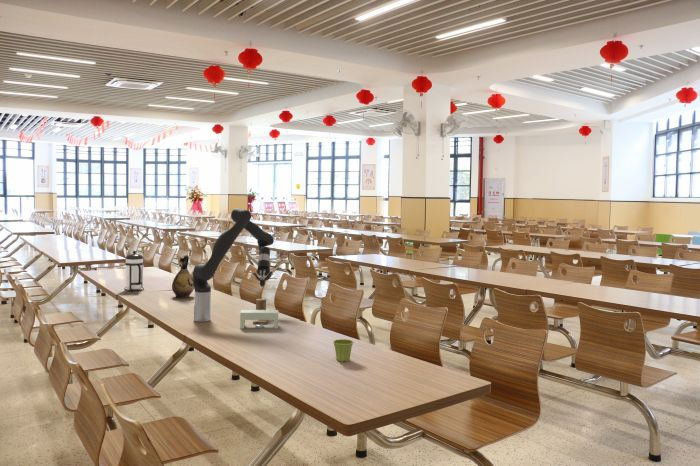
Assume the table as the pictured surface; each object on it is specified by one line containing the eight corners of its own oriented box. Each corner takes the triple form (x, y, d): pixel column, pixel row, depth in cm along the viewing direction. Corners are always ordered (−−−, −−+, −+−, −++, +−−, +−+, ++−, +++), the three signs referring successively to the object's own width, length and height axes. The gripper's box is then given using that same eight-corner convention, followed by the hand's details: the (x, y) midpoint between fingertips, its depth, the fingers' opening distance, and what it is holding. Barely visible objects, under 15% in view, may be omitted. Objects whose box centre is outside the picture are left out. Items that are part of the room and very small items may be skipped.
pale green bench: (240, 328, 320) (240, 312, 319) (241, 325, 328) (241, 309, 327) (277, 328, 322) (278, 312, 321) (278, 325, 330) (278, 310, 329)
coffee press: (118, 291, 426) (118, 251, 424) (130, 288, 442) (130, 249, 440) (140, 292, 423) (140, 252, 421) (151, 289, 439) (151, 250, 437)
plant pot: (346, 364, 258) (346, 345, 257) (328, 360, 263) (329, 342, 262) (356, 359, 266) (357, 341, 265) (339, 356, 271) (340, 338, 270)
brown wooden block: (252, 324, 332) (253, 303, 331) (254, 318, 347) (254, 298, 346) (266, 324, 333) (267, 303, 332) (267, 318, 348) (268, 298, 347)
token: (254, 328, 323) (254, 326, 323) (255, 326, 328) (255, 324, 328) (263, 328, 324) (263, 326, 324) (264, 326, 329) (264, 324, 328)
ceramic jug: (190, 299, 403) (191, 257, 401) (168, 298, 403) (169, 256, 401) (197, 295, 420) (197, 254, 418) (176, 294, 420) (176, 253, 418)
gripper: (252, 260, 366) (250, 284, 356) (272, 258, 365) (271, 282, 355) (255, 266, 372) (253, 289, 363) (275, 264, 371) (273, 288, 361)
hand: (262, 286), depth 359 cm, fingers closed
